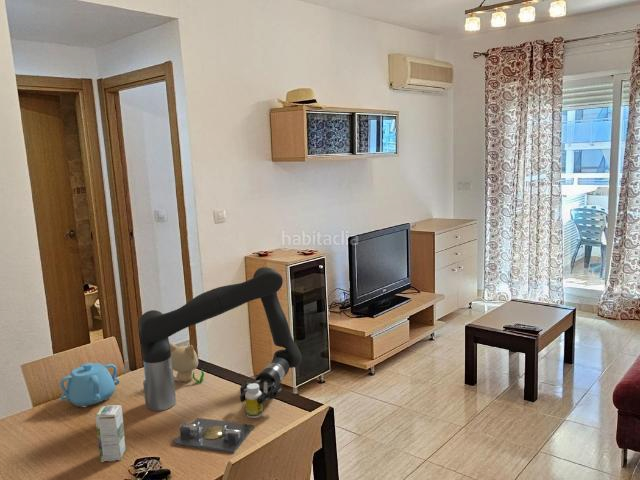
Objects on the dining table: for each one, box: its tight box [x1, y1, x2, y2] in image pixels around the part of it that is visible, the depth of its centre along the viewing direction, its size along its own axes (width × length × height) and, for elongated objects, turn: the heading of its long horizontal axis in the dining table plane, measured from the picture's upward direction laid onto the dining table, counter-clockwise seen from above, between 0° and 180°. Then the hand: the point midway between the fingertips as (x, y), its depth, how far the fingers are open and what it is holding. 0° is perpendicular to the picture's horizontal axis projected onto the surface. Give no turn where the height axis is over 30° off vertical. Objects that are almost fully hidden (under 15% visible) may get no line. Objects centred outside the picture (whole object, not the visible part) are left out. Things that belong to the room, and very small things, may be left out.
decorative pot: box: [59, 362, 120, 407], centre depth 183 cm, size 16×16×14 cm
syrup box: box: [94, 404, 127, 462], centre depth 147 cm, size 6×6×14 cm
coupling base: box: [172, 417, 255, 454], centre depth 156 cm, size 20×14×5 cm
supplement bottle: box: [244, 382, 264, 419], centre depth 165 cm, size 5×5×10 cm
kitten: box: [169, 342, 205, 384], centre depth 195 cm, size 15×10×15 cm
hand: (250, 400), depth 162 cm, fingers closed on supplement bottle, 5 cm apart
